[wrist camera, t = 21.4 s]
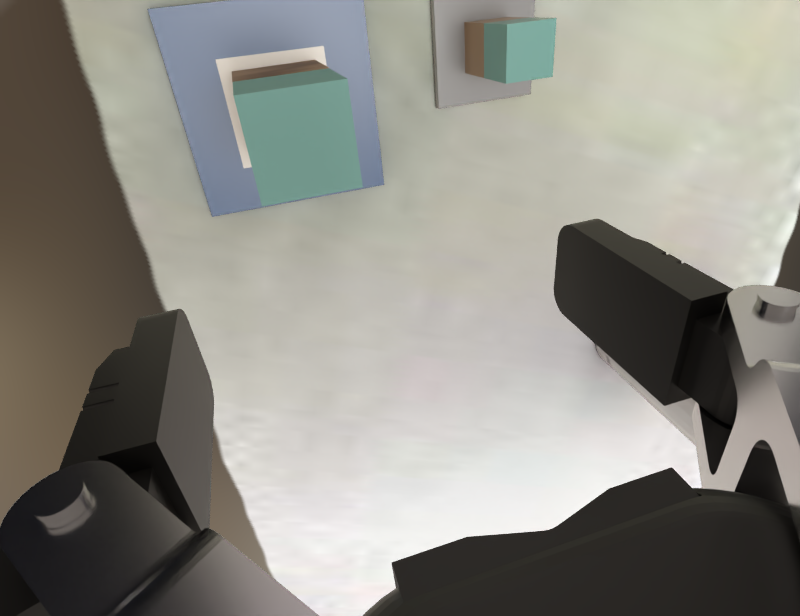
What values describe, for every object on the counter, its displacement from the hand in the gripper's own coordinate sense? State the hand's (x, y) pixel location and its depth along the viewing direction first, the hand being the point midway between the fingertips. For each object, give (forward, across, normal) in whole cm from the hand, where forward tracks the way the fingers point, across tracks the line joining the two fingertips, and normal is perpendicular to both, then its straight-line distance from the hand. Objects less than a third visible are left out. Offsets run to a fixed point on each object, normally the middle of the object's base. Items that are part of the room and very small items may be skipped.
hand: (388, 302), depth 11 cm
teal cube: (+20, 0, 0) cm, 20 cm away
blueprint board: (+26, 0, 0) cm, 26 cm away
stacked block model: (+26, -14, -2) cm, 30 cm away
